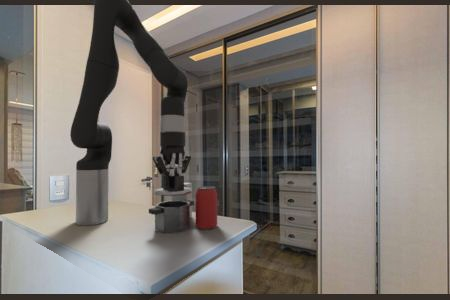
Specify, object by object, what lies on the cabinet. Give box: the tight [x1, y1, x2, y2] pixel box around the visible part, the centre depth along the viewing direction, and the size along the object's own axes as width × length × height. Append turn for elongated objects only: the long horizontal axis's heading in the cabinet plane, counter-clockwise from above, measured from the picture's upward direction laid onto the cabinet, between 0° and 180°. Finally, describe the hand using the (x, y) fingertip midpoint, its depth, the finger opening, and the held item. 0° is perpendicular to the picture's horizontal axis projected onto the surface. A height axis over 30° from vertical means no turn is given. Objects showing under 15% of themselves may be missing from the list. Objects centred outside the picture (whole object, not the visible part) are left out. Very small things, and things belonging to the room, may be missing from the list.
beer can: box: [195, 185, 218, 230], centre depth 69 cm, size 7×7×12 cm
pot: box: [148, 200, 195, 234], centre depth 69 cm, size 10×15×7 cm, turn 143°
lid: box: [153, 174, 193, 197], centre depth 69 cm, size 11×11×5 cm
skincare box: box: [171, 182, 193, 218], centre depth 80 cm, size 6×4×12 cm
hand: (173, 188), depth 69 cm, fingers closed on lid
